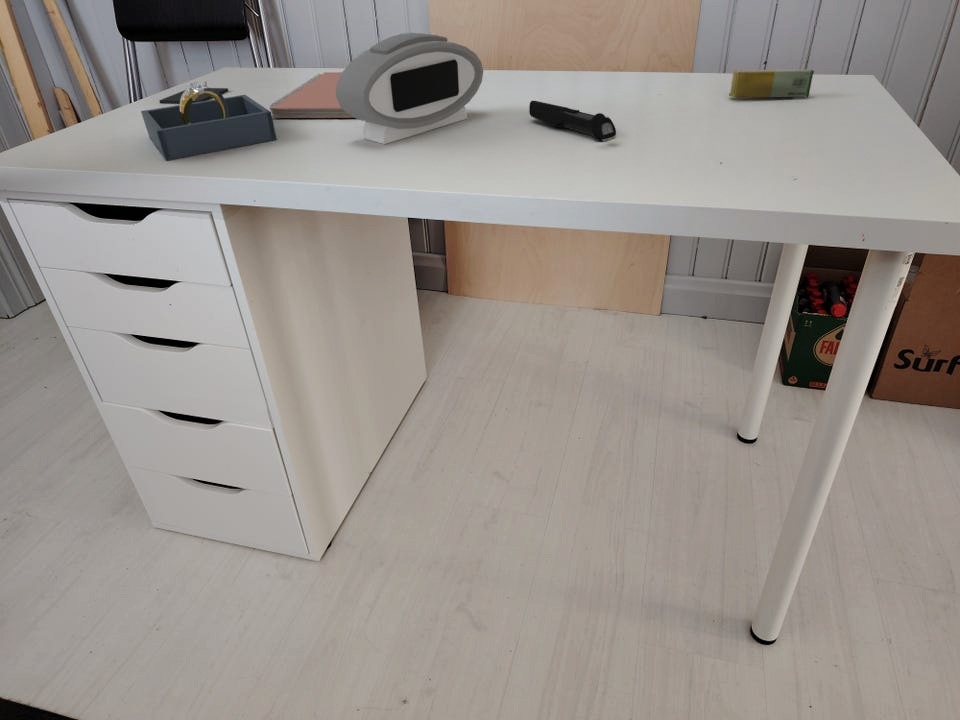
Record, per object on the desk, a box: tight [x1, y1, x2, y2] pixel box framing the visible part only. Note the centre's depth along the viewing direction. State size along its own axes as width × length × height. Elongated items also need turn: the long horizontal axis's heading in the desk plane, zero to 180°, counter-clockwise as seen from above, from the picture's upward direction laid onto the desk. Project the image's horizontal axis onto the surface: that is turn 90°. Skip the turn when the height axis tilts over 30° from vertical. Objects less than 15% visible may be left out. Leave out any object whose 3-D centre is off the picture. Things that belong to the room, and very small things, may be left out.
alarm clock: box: [336, 32, 484, 145], centre depth 94 cm, size 23×6×13 cm, turn 136°
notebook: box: [269, 71, 356, 119], centre depth 114 cm, size 27×17×2 cm, turn 173°
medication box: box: [728, 68, 815, 99], centre depth 103 cm, size 12×3×4 cm, turn 89°
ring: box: [179, 81, 229, 125], centre depth 95 cm, size 7×3×8 cm, turn 132°
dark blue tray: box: [140, 94, 277, 162], centre depth 96 cm, size 16×14×4 cm
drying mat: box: [158, 87, 229, 105], centre depth 120 cm, size 10×8×1 cm
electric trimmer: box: [528, 100, 617, 142], centre depth 93 cm, size 4×16×3 cm, turn 39°
